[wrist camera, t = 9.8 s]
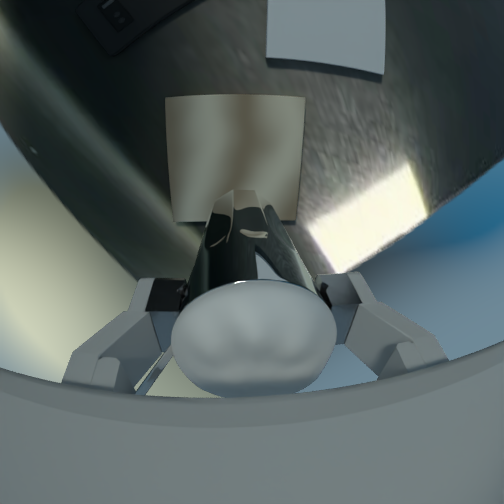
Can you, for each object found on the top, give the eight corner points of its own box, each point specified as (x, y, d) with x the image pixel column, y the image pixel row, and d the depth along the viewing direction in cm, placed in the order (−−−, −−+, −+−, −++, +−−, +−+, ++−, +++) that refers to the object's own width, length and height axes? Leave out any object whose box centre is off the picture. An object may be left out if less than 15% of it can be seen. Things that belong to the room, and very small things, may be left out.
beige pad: (174, 218, 28) (173, 222, 28) (167, 97, 22) (165, 97, 21) (293, 216, 29) (295, 220, 28) (303, 97, 23) (305, 97, 22)
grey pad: (265, 58, 21) (266, 57, 20) (267, -41, 15) (269, -45, 14) (379, 74, 21) (383, 74, 21) (380, -19, 16) (383, -21, 15)
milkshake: (178, 172, 13) (101, 346, 4) (292, 178, 13) (390, 346, 5) (181, 255, 15) (149, 439, 7) (280, 258, 16) (326, 436, 7)
